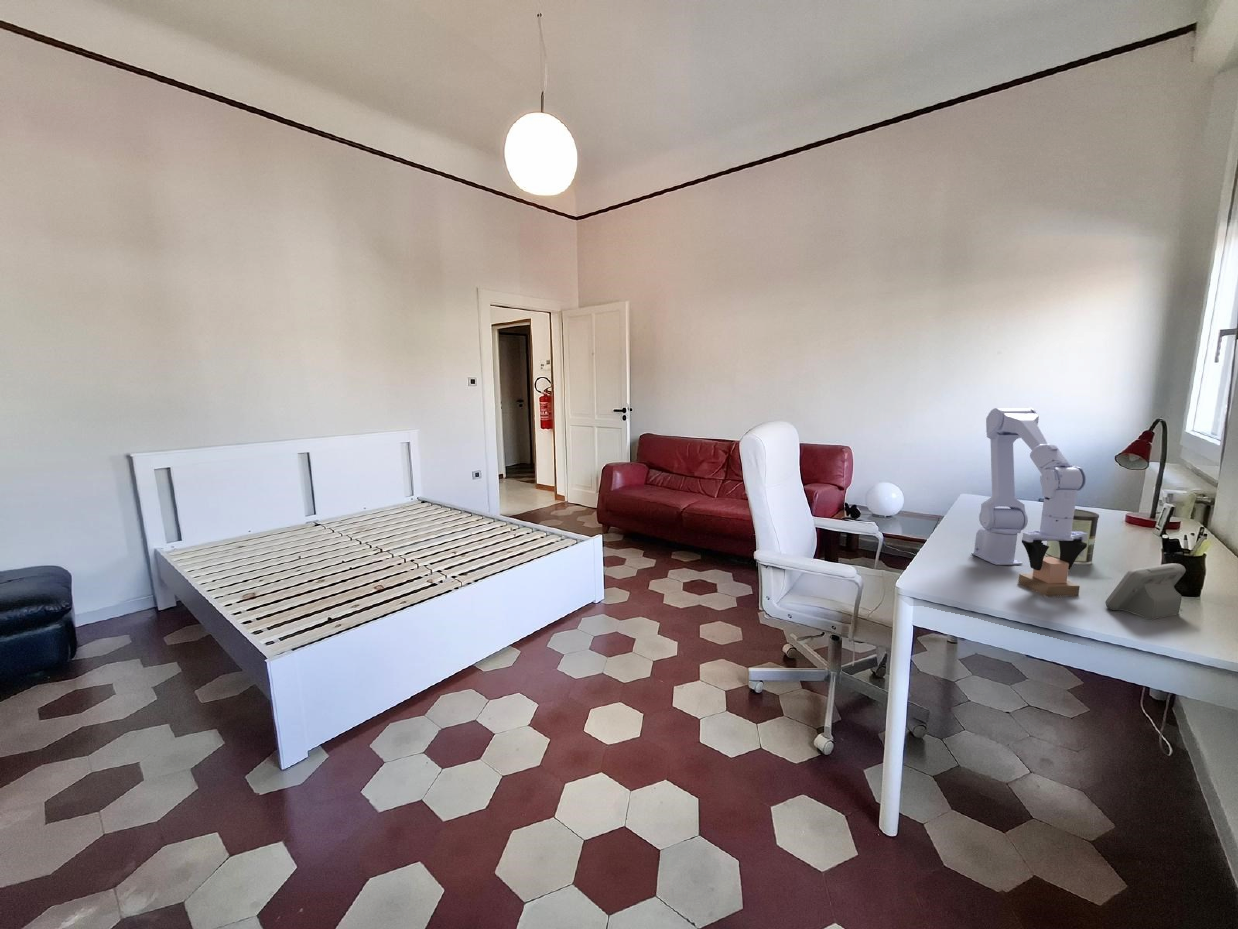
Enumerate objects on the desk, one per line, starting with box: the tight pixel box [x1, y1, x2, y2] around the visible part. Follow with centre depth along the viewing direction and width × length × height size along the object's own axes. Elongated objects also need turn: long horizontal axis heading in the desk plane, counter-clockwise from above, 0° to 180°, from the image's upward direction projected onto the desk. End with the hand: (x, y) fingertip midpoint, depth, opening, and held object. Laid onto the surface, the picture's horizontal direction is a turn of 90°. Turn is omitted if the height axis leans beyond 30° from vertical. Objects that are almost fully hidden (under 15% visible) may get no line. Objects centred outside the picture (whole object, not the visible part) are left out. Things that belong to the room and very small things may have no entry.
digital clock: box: [1105, 562, 1187, 620], centre depth 108 cm, size 16×9×11 cm, turn 93°
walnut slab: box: [1017, 573, 1081, 598], centre depth 120 cm, size 8×8×3 cm
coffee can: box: [1044, 508, 1100, 566], centre depth 140 cm, size 10×10×14 cm
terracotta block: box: [1032, 556, 1069, 583], centre depth 120 cm, size 4×4×5 cm
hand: (1050, 568), depth 120 cm, fingers open, 7 cm apart
